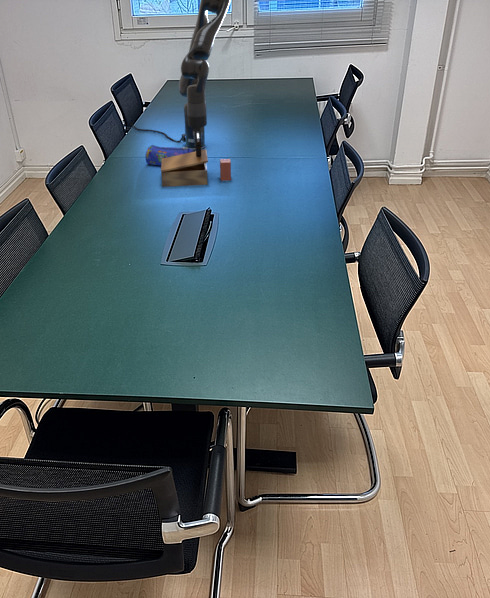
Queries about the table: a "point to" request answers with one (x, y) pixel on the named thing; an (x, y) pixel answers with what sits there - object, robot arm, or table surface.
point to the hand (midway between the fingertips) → (198, 156)
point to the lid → (183, 161)
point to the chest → (185, 176)
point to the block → (225, 169)
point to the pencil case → (163, 153)
